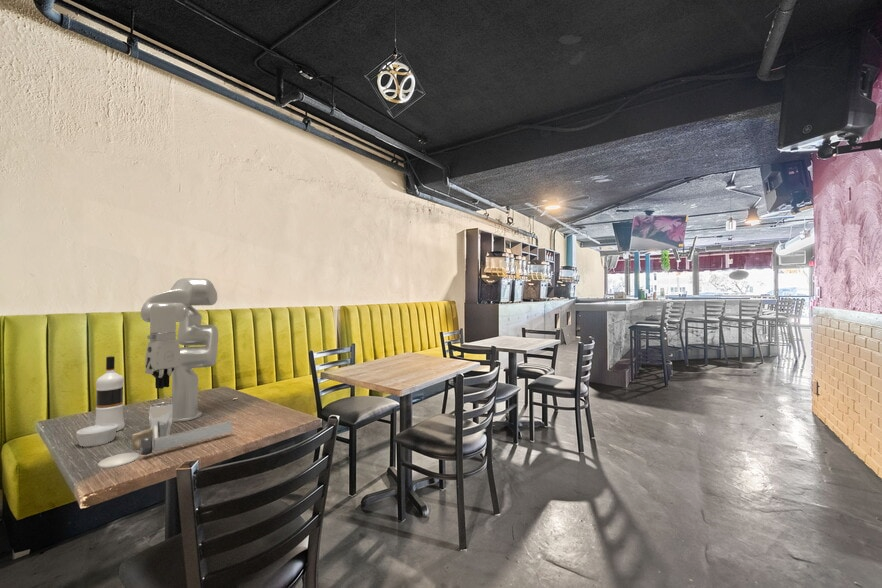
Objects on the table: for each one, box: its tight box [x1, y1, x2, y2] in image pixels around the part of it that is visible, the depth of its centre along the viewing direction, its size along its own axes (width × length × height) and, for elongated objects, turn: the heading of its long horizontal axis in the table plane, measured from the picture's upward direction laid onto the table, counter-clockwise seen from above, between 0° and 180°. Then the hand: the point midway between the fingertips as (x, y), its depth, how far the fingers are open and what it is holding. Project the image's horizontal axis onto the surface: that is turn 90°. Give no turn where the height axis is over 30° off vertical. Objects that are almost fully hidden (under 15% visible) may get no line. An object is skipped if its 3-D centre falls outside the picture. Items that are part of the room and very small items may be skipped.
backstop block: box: [131, 428, 152, 450], centre depth 133 cm, size 3×9×5 cm, turn 167°
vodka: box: [94, 355, 126, 432], centre depth 146 cm, size 9×9×30 cm
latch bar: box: [140, 420, 233, 456], centre depth 131 cm, size 3×28×5 cm, turn 140°
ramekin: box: [75, 424, 118, 448], centre depth 134 cm, size 11×11×5 cm
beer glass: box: [148, 401, 173, 450], centre depth 131 cm, size 7×7×15 cm
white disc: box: [97, 452, 140, 469], centre depth 119 cm, size 10×10×1 cm
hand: (162, 387), depth 132 cm, fingers closed
